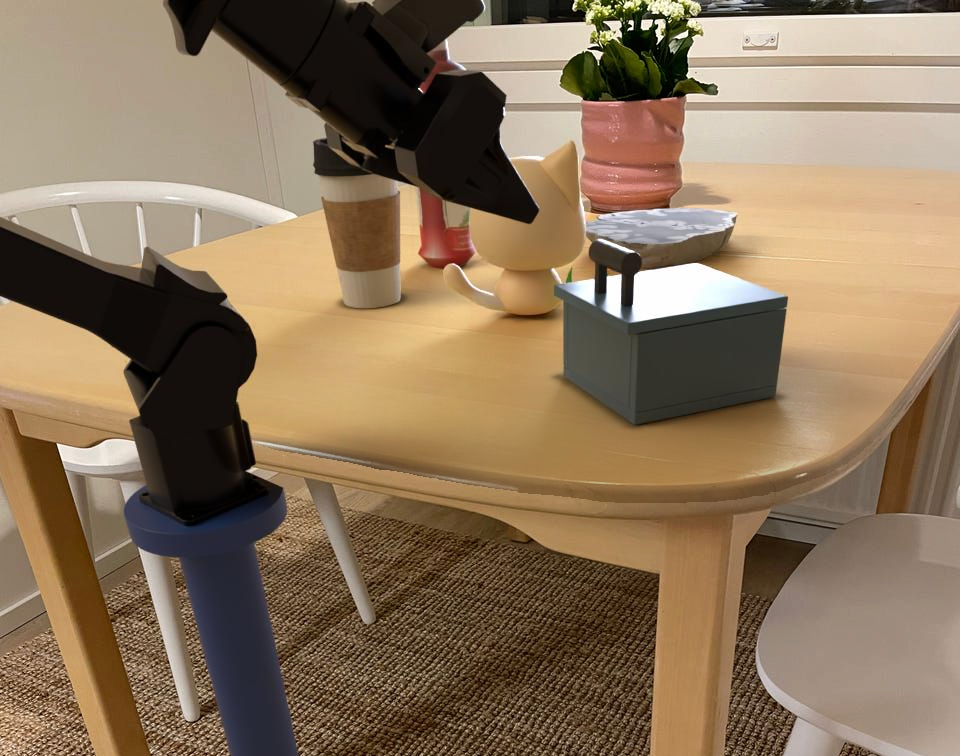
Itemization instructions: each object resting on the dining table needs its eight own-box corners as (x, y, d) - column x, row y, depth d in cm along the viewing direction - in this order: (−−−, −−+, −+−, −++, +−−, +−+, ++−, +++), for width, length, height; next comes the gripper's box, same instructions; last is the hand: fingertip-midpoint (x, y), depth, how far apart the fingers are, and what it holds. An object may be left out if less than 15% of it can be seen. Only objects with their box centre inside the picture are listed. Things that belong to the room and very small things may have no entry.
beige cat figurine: (624, 304, 93) (630, 131, 84) (588, 333, 85) (590, 147, 77) (486, 293, 99) (479, 131, 90) (441, 320, 91) (429, 146, 83)
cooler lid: (627, 335, 63) (630, 266, 61) (553, 295, 73) (552, 234, 70) (787, 307, 67) (795, 241, 64) (696, 273, 76) (701, 213, 73)
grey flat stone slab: (625, 229, 121) (625, 204, 120) (754, 238, 113) (757, 211, 112) (549, 264, 108) (549, 236, 106) (690, 277, 100) (692, 247, 98)
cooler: (634, 425, 67) (638, 334, 64) (562, 376, 76) (562, 294, 73) (775, 397, 70) (787, 308, 67) (690, 353, 80) (696, 273, 76)
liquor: (437, 254, 115) (417, -29, 99) (490, 257, 112) (478, -33, 96) (405, 268, 110) (378, -28, 94) (460, 272, 107) (442, -32, 91)
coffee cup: (336, 292, 102) (316, 135, 94) (415, 288, 102) (401, 130, 94) (327, 314, 95) (303, 147, 87) (411, 309, 95) (396, 141, 87)
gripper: (445, -123, 44) (652, 101, 54) (333, -87, 59) (511, 85, 68) (322, 98, 47) (540, 276, 56) (243, 81, 61) (427, 225, 71)
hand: (503, 206), depth 63 cm, fingers open, 9 cm apart
